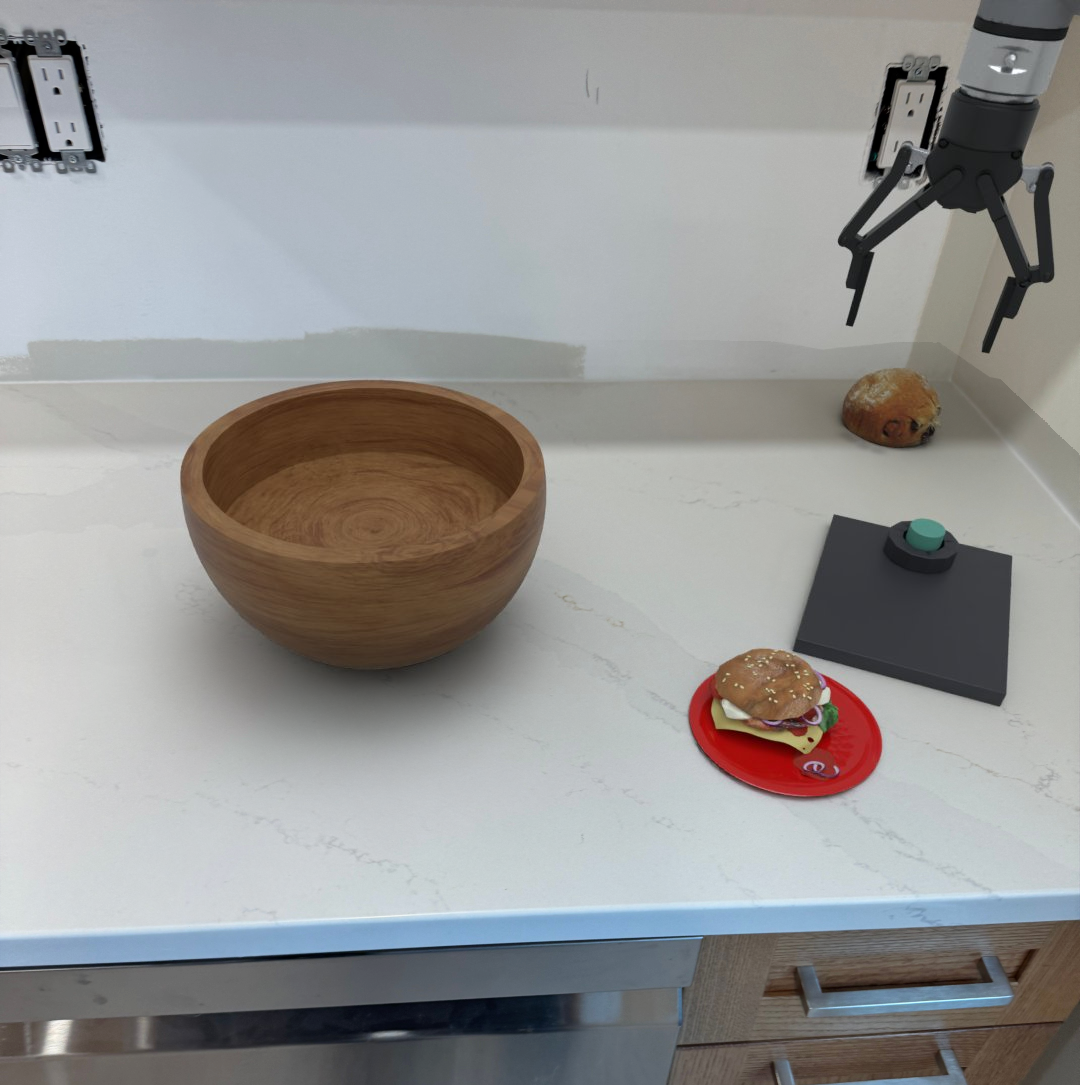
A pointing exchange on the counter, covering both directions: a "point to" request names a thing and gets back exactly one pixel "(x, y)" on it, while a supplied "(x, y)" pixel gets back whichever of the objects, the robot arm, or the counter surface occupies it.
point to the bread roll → (892, 408)
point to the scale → (911, 610)
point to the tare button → (925, 534)
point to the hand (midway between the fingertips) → (917, 334)
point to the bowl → (366, 517)
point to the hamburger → (784, 725)
